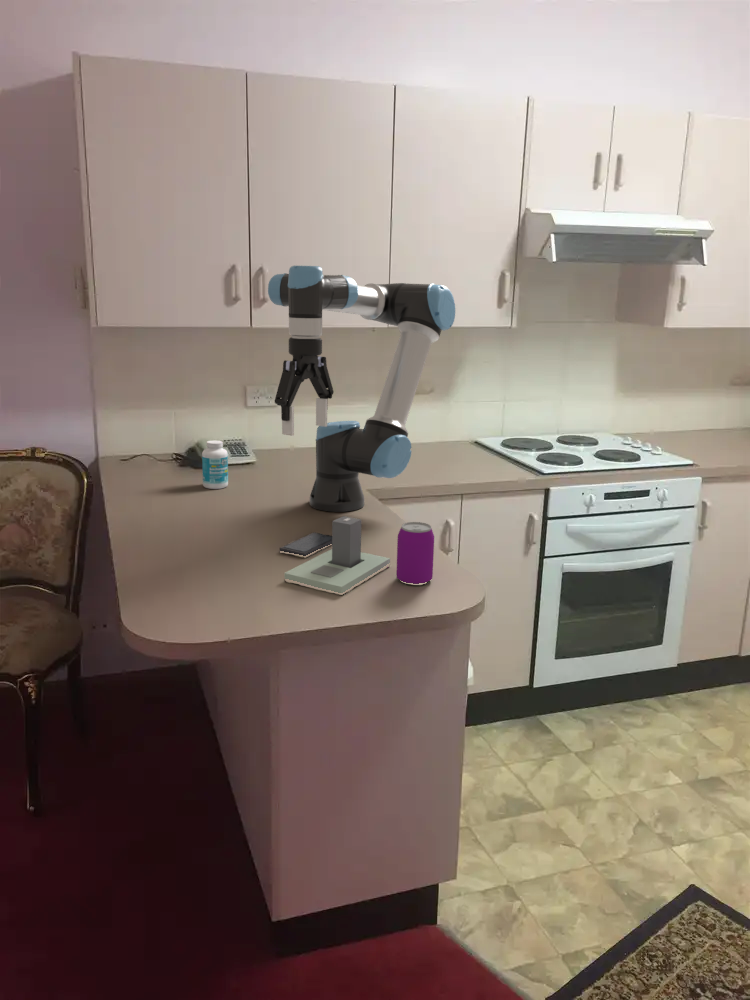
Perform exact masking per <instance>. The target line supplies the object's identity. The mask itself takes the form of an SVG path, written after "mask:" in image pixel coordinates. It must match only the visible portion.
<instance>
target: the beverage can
mask: <svg viewBox="0 0 750 1000" xmlns="http://www.w3.org/2000/svg"><path fill="white" fill-rule="evenodd" d="M396 546H397V548H396V551H397V552H396V575H395V576H396V579H397V580H398V579H399V580H401V581H403V582H406V583H413V584H419V583H425V582H428V581H430V580H431V579H432V580H433V575H434V553H435V534H434V531H433V528H432V525H430V524H429V523H427V522H421V521H409V522H405V523H403V524H401V527H400V529H399V531H398V534H397V545H396ZM399 580H398V581H399ZM432 580H431V581H432ZM431 581H430V582H431ZM428 583H429V582H428Z"/></svg>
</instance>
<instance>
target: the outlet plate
mask: <svg viewBox="0 0 750 1000" xmlns="http://www.w3.org/2000/svg"><path fill="white" fill-rule="evenodd" d="M389 563H390V564H391V558H390V557H386V556H382V555H376V554H373V553H368V552H362V551H361V563H359V564H357V565H356V566H354V567H352V568H348V567H344V566H339V565H335V564H332V548H331V549H329V550H327V551H325V552H322V554H319V555H317V556H315V557H313V558H311V559H310V560H307V561H305V562H303V563H301V564H299V565H297V566H295V567H293V568H292V569H289V570H288V571H285V572H284V573H283V574H284V576H283V577H284V578H285V579H289V580H293V581H297V582H300V583H304V584H307V585H311V586H314V587H318V588H322V589H326V590H331V591H334V592H338V593H343V592H345V591H346V590H348V589H350V588H351V587H352V586H354V585H355V584H357V583H359V582H360V581H362V580H364V579H365V578H367V577H368V576H370V575H372V574H373V573H375V572H377V571H378V570H380V569H381V568H383V567H384V566H386V565H387V564H389Z"/></svg>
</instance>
